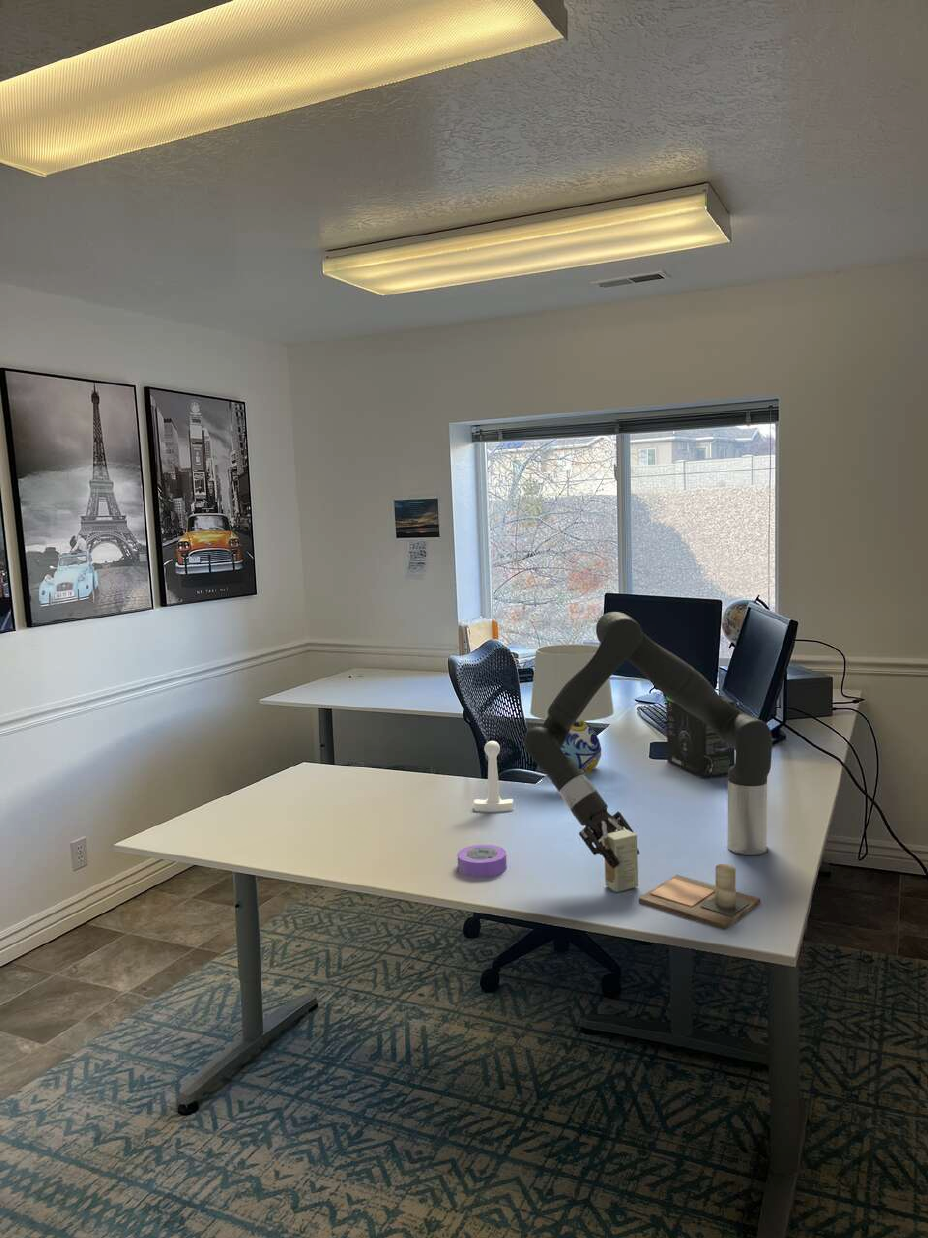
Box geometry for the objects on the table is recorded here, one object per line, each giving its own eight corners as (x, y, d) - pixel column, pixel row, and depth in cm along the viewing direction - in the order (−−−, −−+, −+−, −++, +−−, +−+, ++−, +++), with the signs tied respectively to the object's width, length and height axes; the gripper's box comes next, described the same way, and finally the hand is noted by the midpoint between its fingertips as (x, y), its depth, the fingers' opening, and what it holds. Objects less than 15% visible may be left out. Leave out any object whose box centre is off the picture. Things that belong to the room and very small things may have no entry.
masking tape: (447, 869, 212) (447, 854, 211) (481, 855, 220) (481, 840, 220) (482, 882, 204) (482, 866, 203) (516, 867, 212) (516, 852, 211)
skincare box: (627, 880, 201) (627, 828, 200) (638, 887, 197) (638, 834, 196) (603, 885, 199) (603, 833, 197) (614, 892, 195) (614, 839, 193)
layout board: (676, 879, 202) (676, 839, 201) (760, 903, 188) (761, 861, 187) (638, 902, 190) (638, 860, 189) (725, 930, 177) (725, 885, 175)
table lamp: (612, 782, 275) (611, 655, 271) (526, 780, 281) (523, 655, 276) (615, 759, 302) (614, 643, 297) (536, 757, 307) (534, 643, 303)
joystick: (474, 812, 252) (472, 743, 250) (475, 803, 260) (473, 736, 257) (513, 811, 251) (511, 742, 249) (513, 803, 259) (511, 736, 257)
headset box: (665, 761, 297) (665, 686, 294) (696, 758, 301) (696, 683, 298) (702, 780, 276) (702, 698, 273) (736, 775, 279) (736, 695, 276)
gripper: (573, 798, 195) (618, 862, 189) (610, 783, 206) (654, 843, 199) (554, 816, 200) (598, 879, 193) (591, 800, 210) (634, 859, 203)
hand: (626, 860), depth 196 cm, fingers closed on skincare box, 7 cm apart
